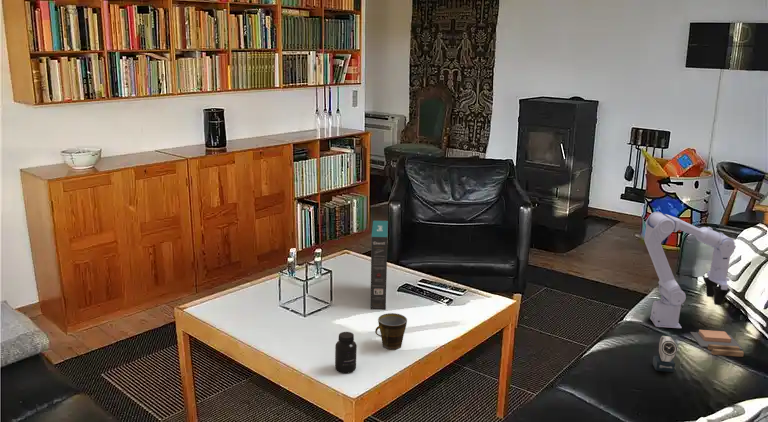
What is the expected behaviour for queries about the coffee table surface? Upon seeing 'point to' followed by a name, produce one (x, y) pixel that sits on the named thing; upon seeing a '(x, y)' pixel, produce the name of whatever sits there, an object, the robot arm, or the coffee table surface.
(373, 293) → the cake mix box
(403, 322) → the ceramic cup
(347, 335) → the supplement bottle
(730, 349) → the rack
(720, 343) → the mat
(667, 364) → the watch
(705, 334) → the tile
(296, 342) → the coffee table surface
